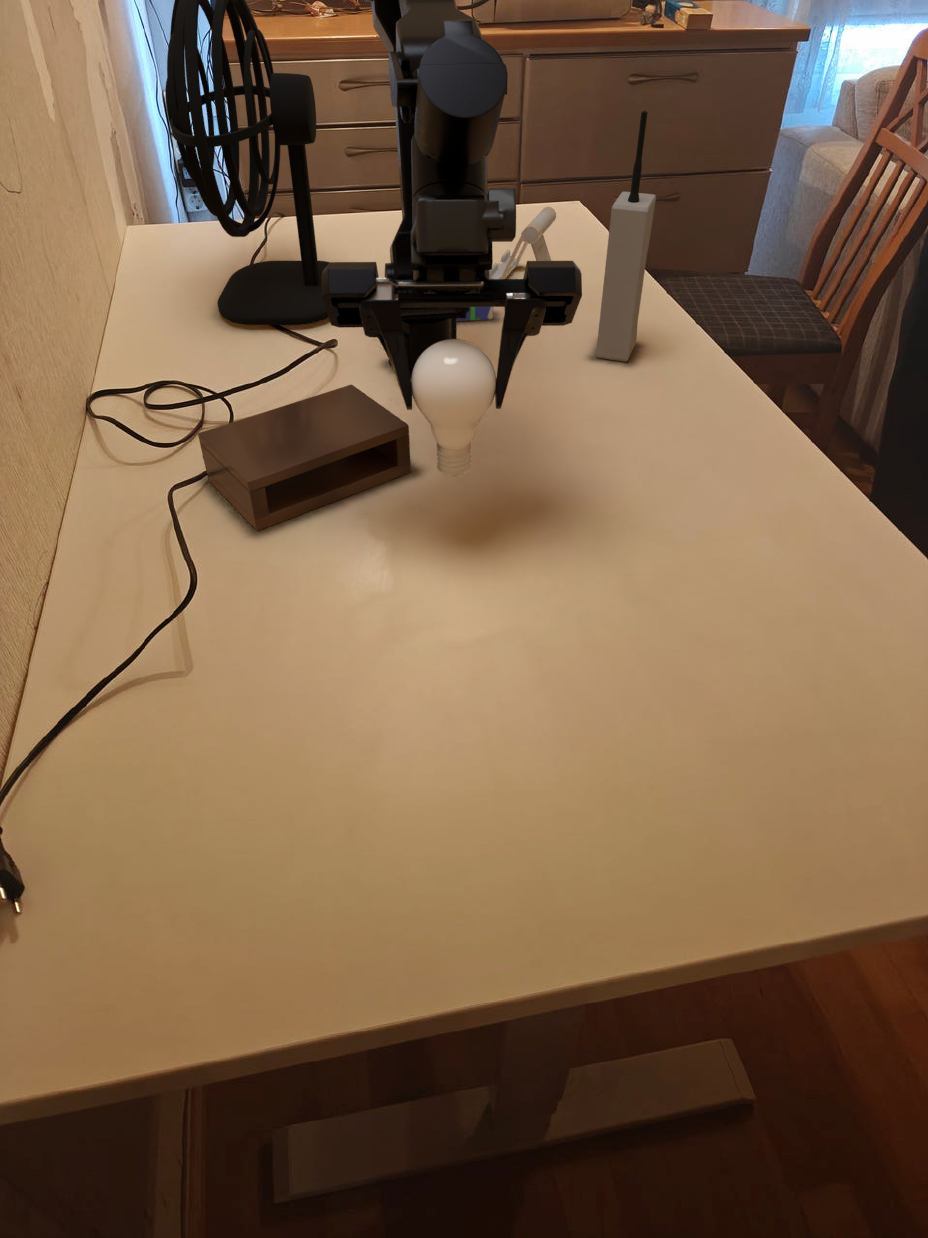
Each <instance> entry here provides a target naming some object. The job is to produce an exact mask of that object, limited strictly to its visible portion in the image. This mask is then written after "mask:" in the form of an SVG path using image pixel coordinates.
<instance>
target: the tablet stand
mask: <svg viewBox="0 0 928 1238" xmlns="http://www.w3.org/2000/svg"><path fill="white" fill-rule="evenodd" d="M556 219H557V212H556V210H555V209H554V208H553V207H552V206H545V207H544V208H543V209H542V210H540V212H539V213H538V214H537V215H535V217H534V218H533V219H532V220H531V221H530V222H529V224H527V226H526V227H525V228H524V229H522V231H521V233H520V237H519V239H518V241H517V243H516V244H515V247H514V249H513V251H512V253H511V250H510V249H507V250H506V251H505V252H504V253H503V254H502V255H501V256H500V261H499V263H498V262H495V263H494V264H492V270H490V279H507V277H508V276H509V275H510V274H511V273H512V272H513V270H515V269H516V268H517V267H518V265H519V263H520V261H521V259H522V257H523V255H524V253H525V251H526V249H527V247H528V244H529V245H530V246H531V249H532V252H533V255H534V258H535V261H552V259H551V255H550V252H549V249H548V246H547V243H546V242H547V241H546V239H545V236H544V234H545V232H546V231H547V230H548V229H549V228H550V227H551V226H552V224H553V223H554V222H556ZM523 242H524V243H523ZM522 243H523V245H522ZM521 246H522V247H521ZM520 248H521V249H520ZM519 249H520V251H519ZM518 251H519V252H518ZM517 254H518V255H517ZM516 256H517V257H516Z"/></svg>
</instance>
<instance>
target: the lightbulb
mask: <svg viewBox="0 0 928 1238" xmlns="http://www.w3.org/2000/svg"><path fill="white" fill-rule="evenodd" d="M496 377H497V373H496V371H495V368H494V365H493V363H492V360H491V359H490V358H489V356H488V355H487V353H486V352H485V351H484V350H483V349H481V348H480V347H479V346H478V345H476V344H474V343H472V342H470V341H467V340H464V339H460V338H457V339H447V340H443V341H439V342H437V343H435V344H433V345H431V346H430V347H428V348H427V349H426V350H425V351H424V352H423V353H422V354H421V355H420V357H419V358H418V360H417V361H416V363H415V366H414V368H413V372H412V377H411V378H410V379H411V387H412V399H413V401H414V403H415V405H416V407H417V408H418V410H419V412H420V413H421V415H422V416H423V417H424V418H425V419H426V421H427V422H428V423H429V425H430V428H431V433H432V436H433V439H434V440H435V442H436V452H437V453H436V456H437V458H436V460H437V462H436V464H437V466H436V467H437V470H438V471H439V472H440V473H441V474H443V475H445V476H448V477H459V476H463V475H465V474H467V473H468V472H470V470H471V468H472V464H471V463H472V460H471V459H472V442H473V440H474V438H475V436H476V432H477V428H478V424H479V423H480V421H481V420H482V419H483V418H484V416H485V415H486V414H487V412H488V411H489V409H490V407H491V406H492V404H493V403H494V401H495V393H496Z"/></svg>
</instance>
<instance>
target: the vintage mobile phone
mask: <svg viewBox="0 0 928 1238" xmlns="http://www.w3.org/2000/svg"><path fill="white" fill-rule="evenodd" d="M648 113H649V112H648V111H647V110H642V111H640V120H639V129H638V137H637V145H636V154H635V160H634V164H633V168H632V176H631V183H630V184H631V185H630V191H621V193H620V194H619V196H618V197H617V198H616V200H615V201H614V203H613V204H612V206H611V211H610V220H609V230H608V239H607V248H606V258H605V267H604V277H603V286H602V294H601V295H602V296H601V302H600V303H601V305H600V314H599V315H600V316H599V322H598V330H597V341H596V349H595V356H596V358H598V359H603V360H611V361H616V362H617V361H618V362H623V363H626V362H628V361H629V359H630V357H631V355H632V352H633V350H634V348H635V346H636V344H637V339H638V323H639V317H640V308H641V301H642V294H643V286H644V278H645V272H646V264H647V257H648V251H649V247H650V241H651V234H652V229H653V228H652V227H653V220H654V213H655V207H656V200H657V196H656V194H653V193H643V192H640V186H641V185H640V184H641V178H642V169H643V161H642V160H643V153H644V146H645V145H644V143H645V137H646V136H645V135H646V129H647V128H646V127H647V122H648V121H647V119H648Z"/></svg>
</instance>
